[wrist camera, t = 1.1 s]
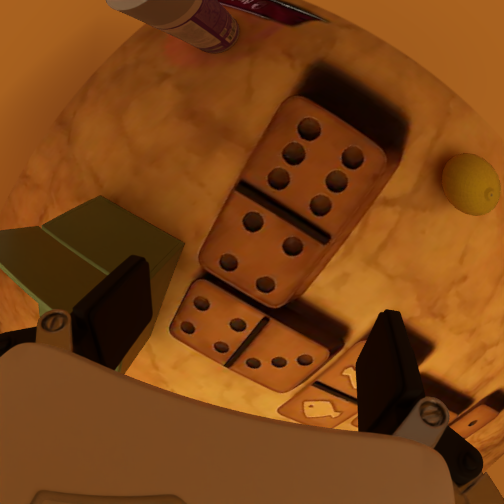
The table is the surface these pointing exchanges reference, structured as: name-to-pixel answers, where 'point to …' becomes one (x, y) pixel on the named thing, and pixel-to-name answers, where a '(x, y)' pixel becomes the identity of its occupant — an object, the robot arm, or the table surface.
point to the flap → (46, 268)
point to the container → (186, 20)
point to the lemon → (471, 184)
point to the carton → (118, 250)
